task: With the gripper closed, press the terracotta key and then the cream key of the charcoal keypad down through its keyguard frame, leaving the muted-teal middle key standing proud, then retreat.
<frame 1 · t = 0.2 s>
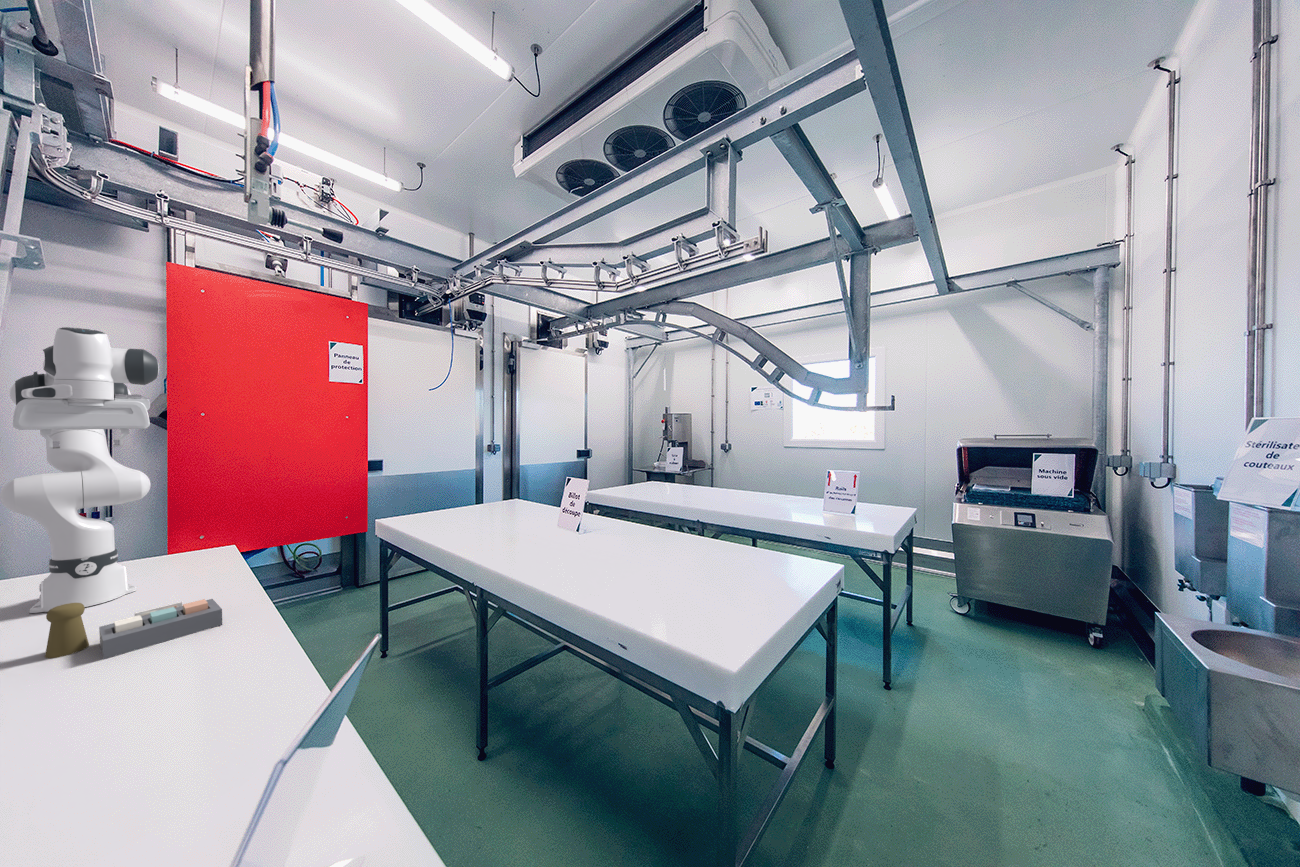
hand: (87, 447, 103), 47 cm above the table, fingers open, 8 cm apart
cream key: (128, 626, 99), point 4 cm above the table, slide at 0.0 cm
keypad: (164, 634, 104), on the table
teal key: (163, 617, 104), point 4 cm above the table, slide at 0.0 cm
cork: (67, 651, 96), on the table
terracotta key: (195, 609, 109), point 4 cm above the table, slide at 0.0 cm
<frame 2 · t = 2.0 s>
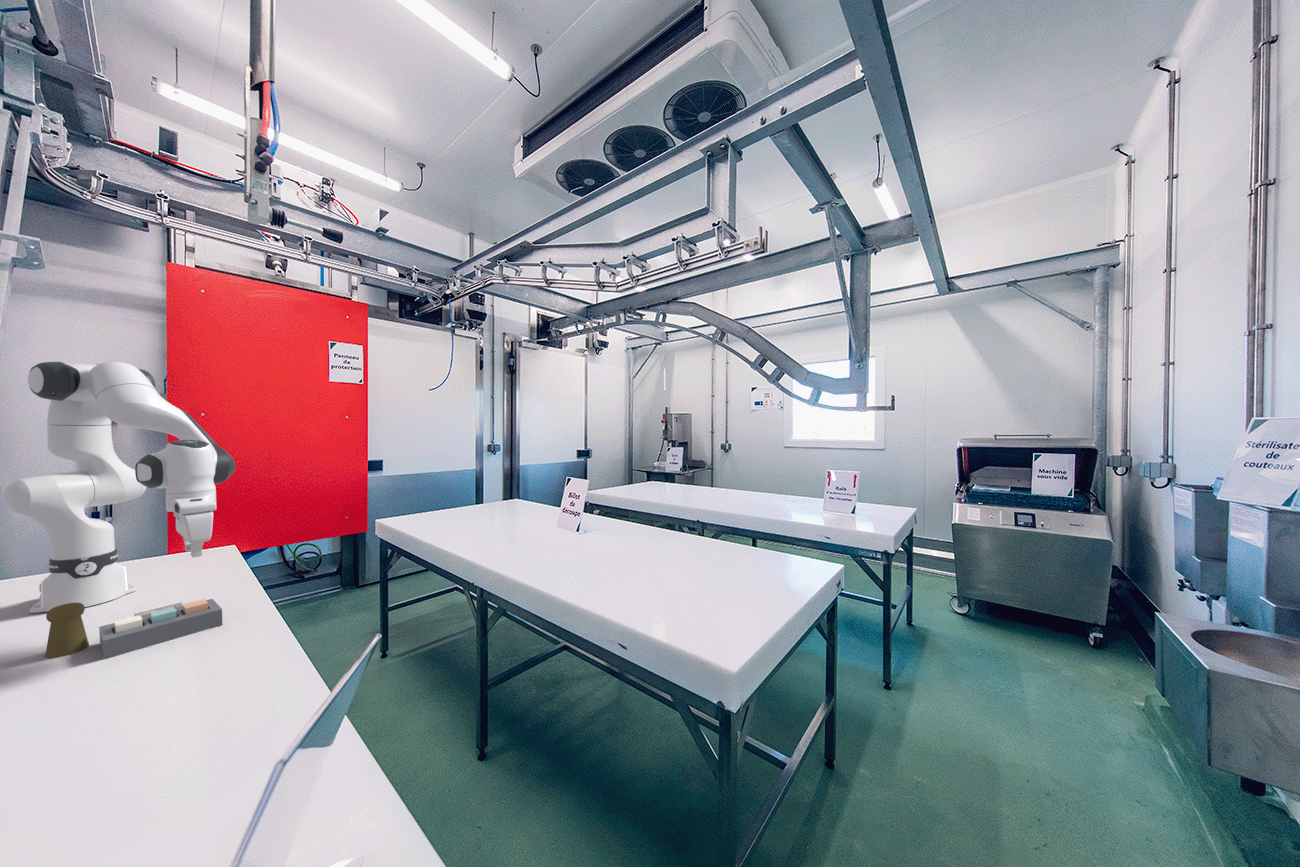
hand: (193, 553, 108), 19 cm above the table, fingers open, 6 cm apart
nothing on the table moved.
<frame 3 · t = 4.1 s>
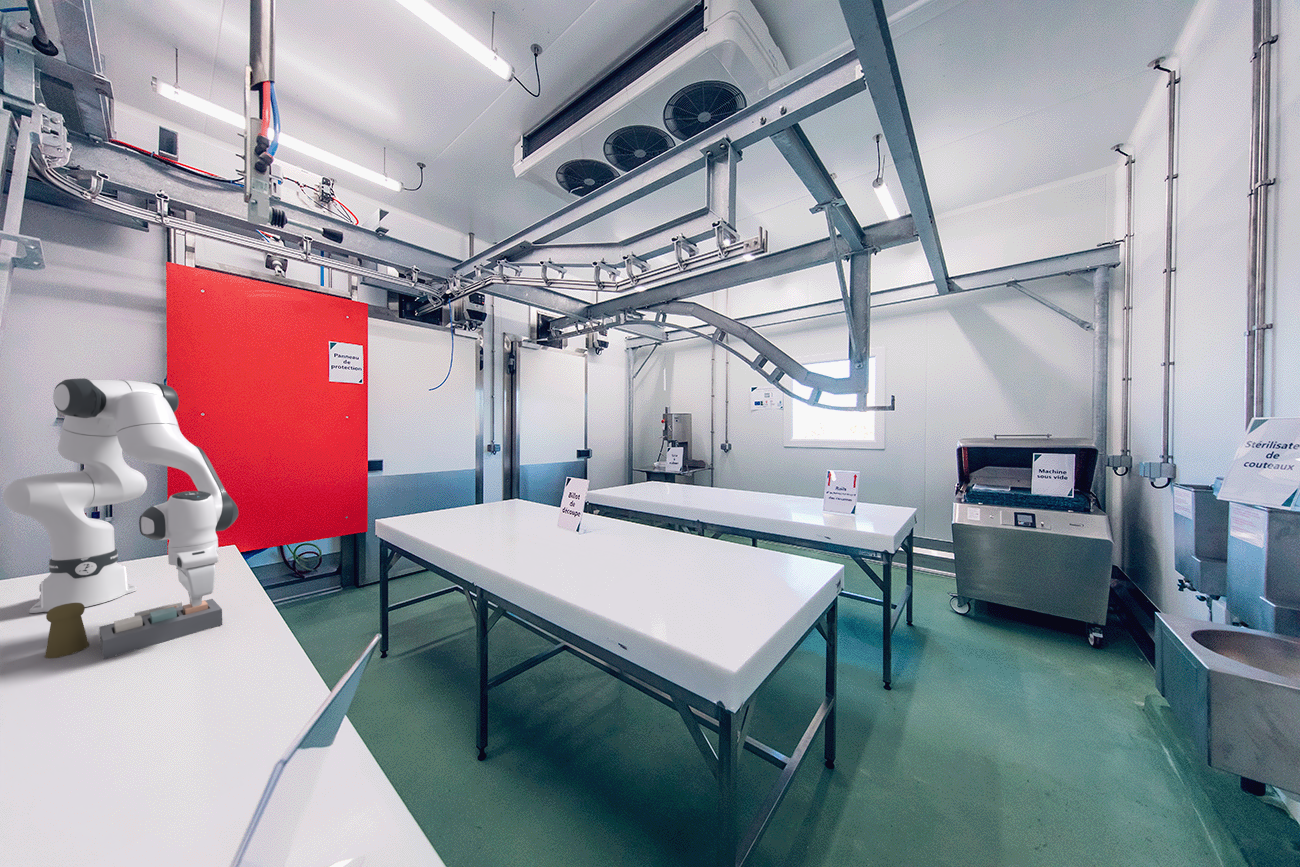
hand: (195, 604, 108), 6 cm above the table, fingers closed
terracotta key: (195, 610, 109), point 4 cm above the table, slide at 0.3 cm, touching gripper
everything else where it was.
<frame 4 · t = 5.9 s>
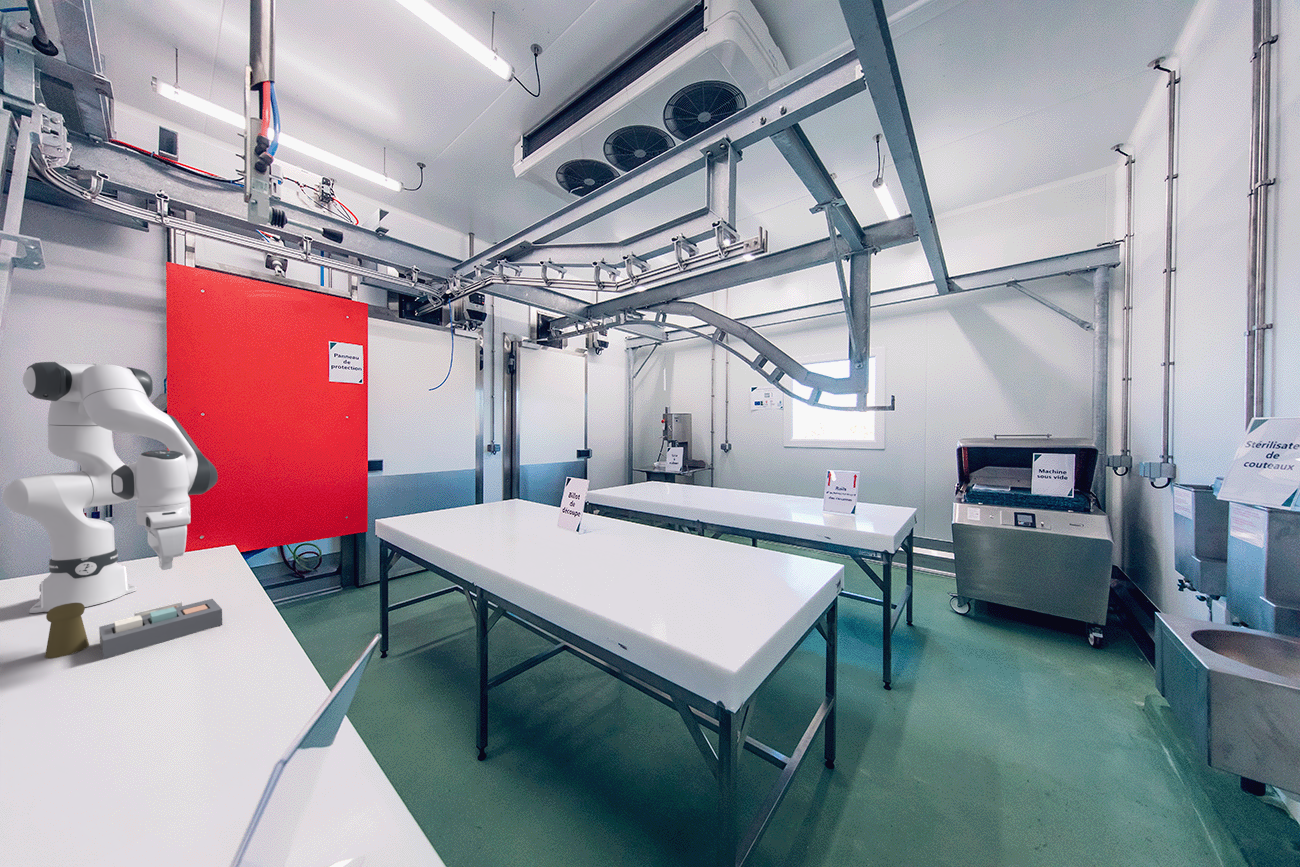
hand: (166, 568, 104), 17 cm above the table, fingers closed
terracotta key: (195, 614, 109), point 3 cm above the table, slide at 1.5 cm
everything else where it was.
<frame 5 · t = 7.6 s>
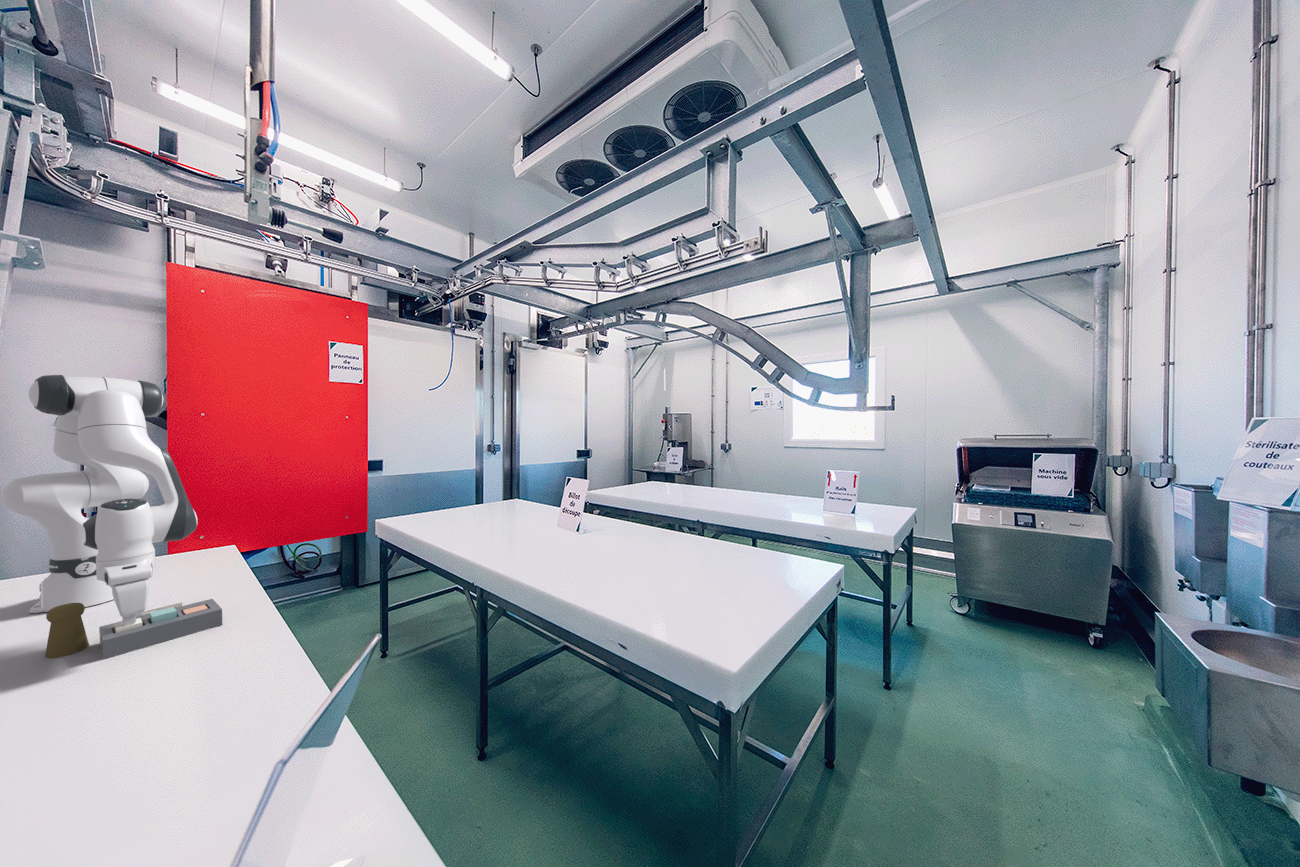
hand: (129, 623, 99), 5 cm above the table, fingers closed, pressing on cream key
cream key: (128, 629, 99), point 4 cm above the table, slide at 0.7 cm, touching gripper
everything else where it was.
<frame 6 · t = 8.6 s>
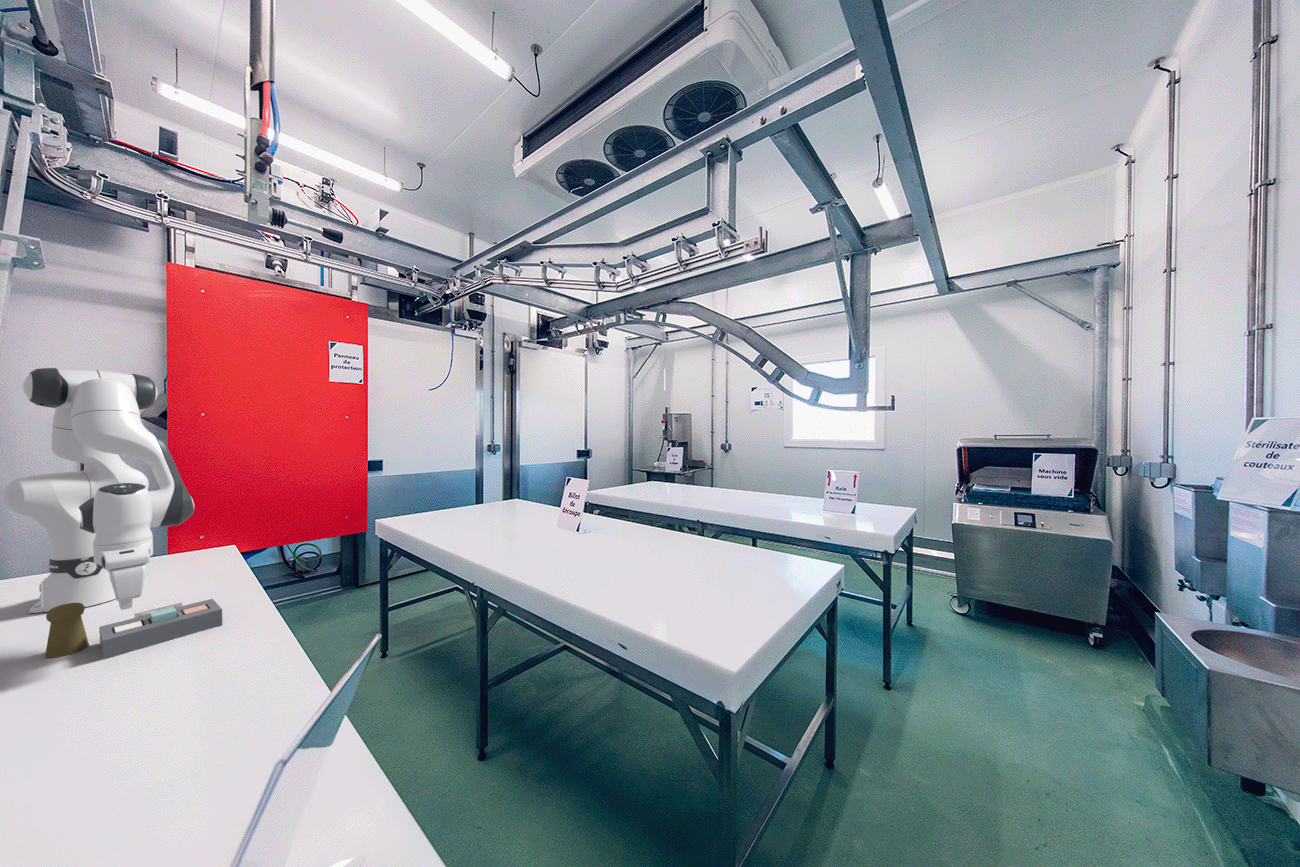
hand: (125, 607, 99), 9 cm above the table, fingers closed
cream key: (128, 632, 99), point 3 cm above the table, slide at 1.5 cm
everything else where it was.
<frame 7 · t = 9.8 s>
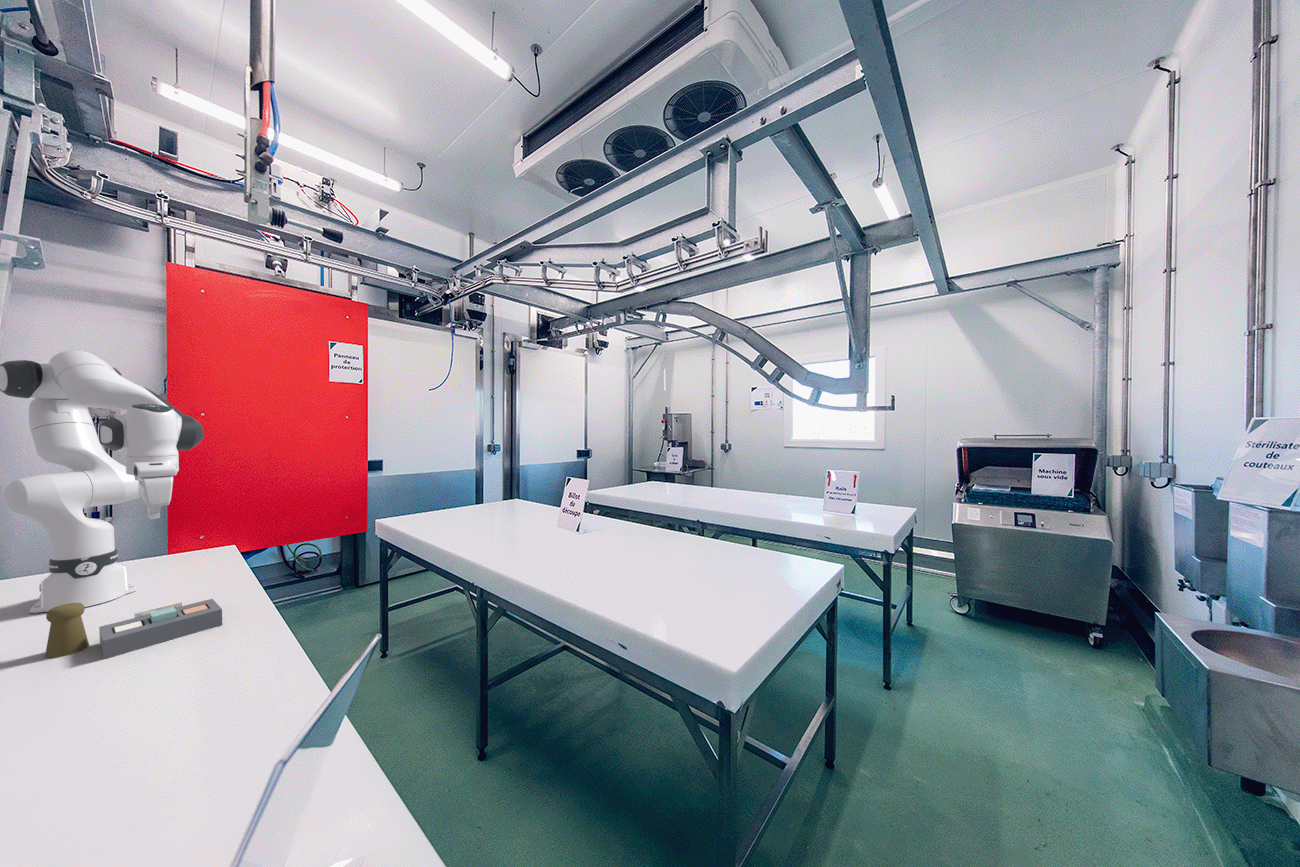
hand: (153, 518, 108), 29 cm above the table, fingers closed
nothing on the table moved.
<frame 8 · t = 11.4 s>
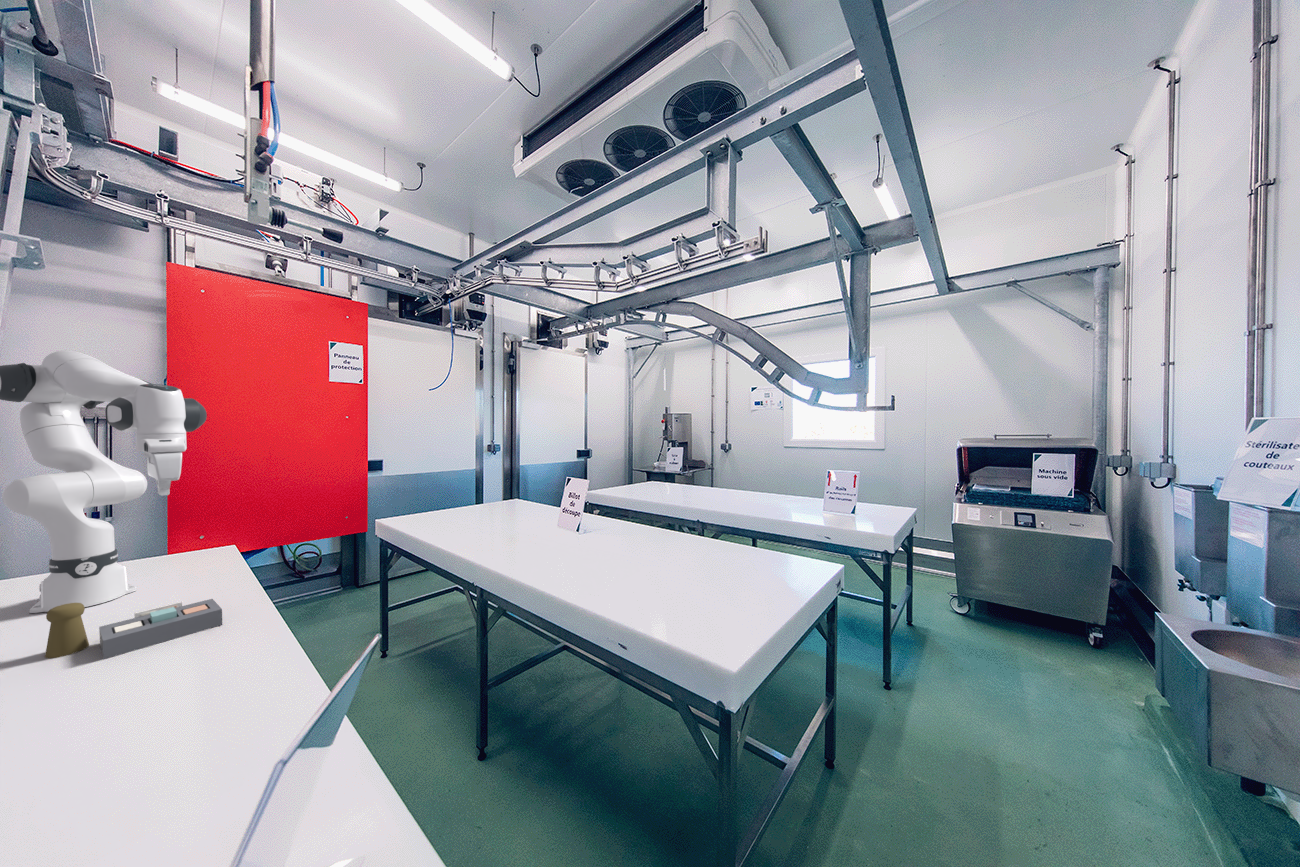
hand: (163, 494, 111), 34 cm above the table, fingers closed
nothing on the table moved.
at the end: terracotta key slide at 1.5 cm; cream key slide at 1.5 cm; teal key slide at 0.0 cm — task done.
